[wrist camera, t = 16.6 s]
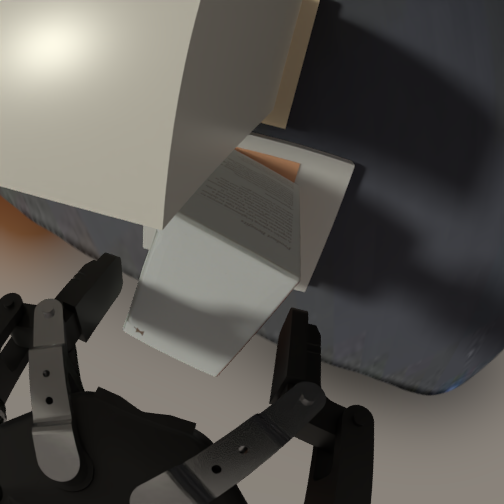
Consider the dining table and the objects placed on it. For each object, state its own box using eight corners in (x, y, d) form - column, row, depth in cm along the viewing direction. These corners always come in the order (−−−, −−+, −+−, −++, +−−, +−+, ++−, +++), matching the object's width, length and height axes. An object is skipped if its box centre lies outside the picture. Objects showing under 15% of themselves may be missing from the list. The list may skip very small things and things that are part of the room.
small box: (246, 268, 23) (216, 381, 14) (183, 234, 22) (119, 333, 14) (302, 184, 19) (305, 283, 10) (228, 142, 18) (161, 205, 9)
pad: (351, 161, 19) (355, 165, 18) (304, 283, 25) (304, 292, 24) (159, 114, 19) (151, 116, 18) (148, 240, 25) (142, 248, 24)
